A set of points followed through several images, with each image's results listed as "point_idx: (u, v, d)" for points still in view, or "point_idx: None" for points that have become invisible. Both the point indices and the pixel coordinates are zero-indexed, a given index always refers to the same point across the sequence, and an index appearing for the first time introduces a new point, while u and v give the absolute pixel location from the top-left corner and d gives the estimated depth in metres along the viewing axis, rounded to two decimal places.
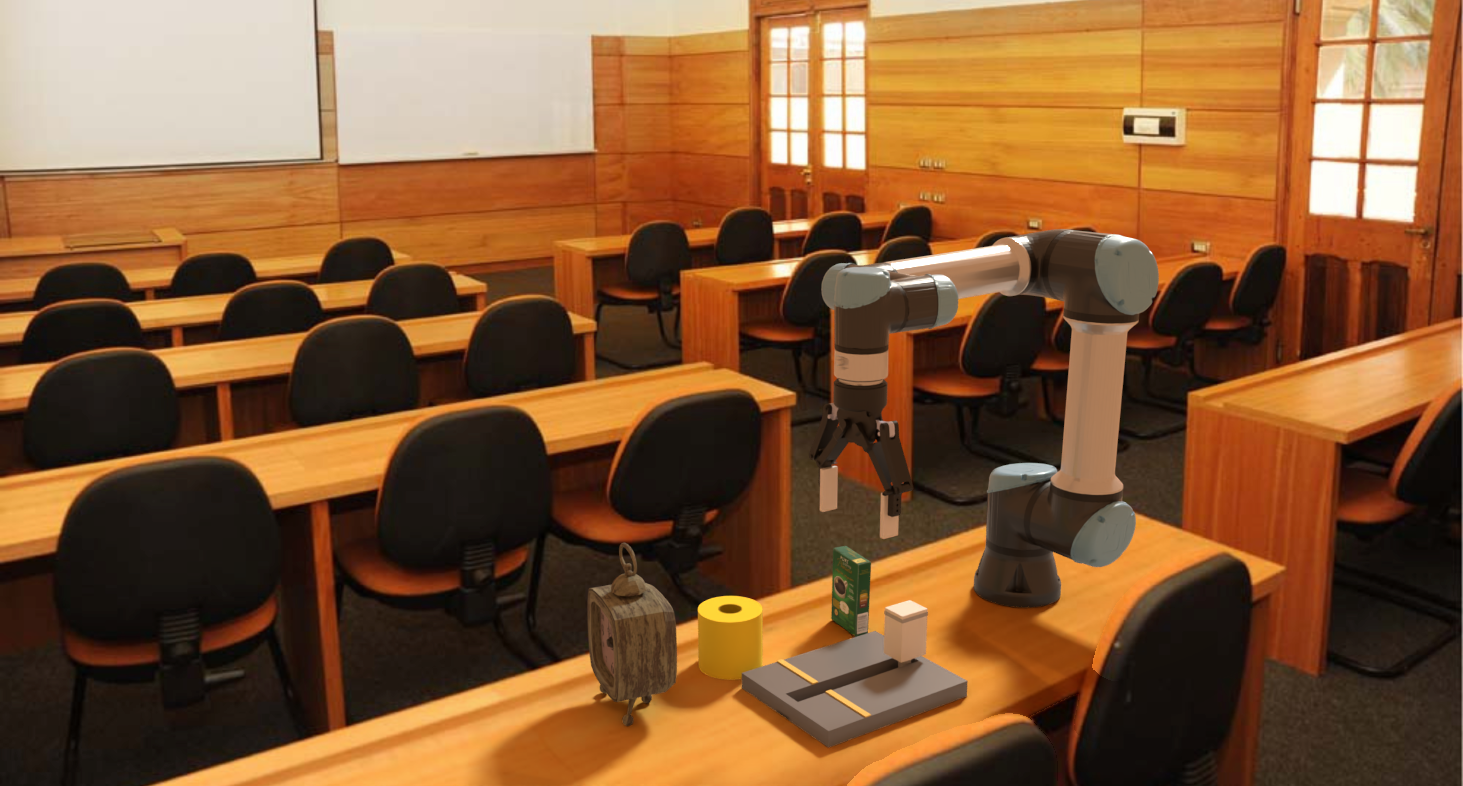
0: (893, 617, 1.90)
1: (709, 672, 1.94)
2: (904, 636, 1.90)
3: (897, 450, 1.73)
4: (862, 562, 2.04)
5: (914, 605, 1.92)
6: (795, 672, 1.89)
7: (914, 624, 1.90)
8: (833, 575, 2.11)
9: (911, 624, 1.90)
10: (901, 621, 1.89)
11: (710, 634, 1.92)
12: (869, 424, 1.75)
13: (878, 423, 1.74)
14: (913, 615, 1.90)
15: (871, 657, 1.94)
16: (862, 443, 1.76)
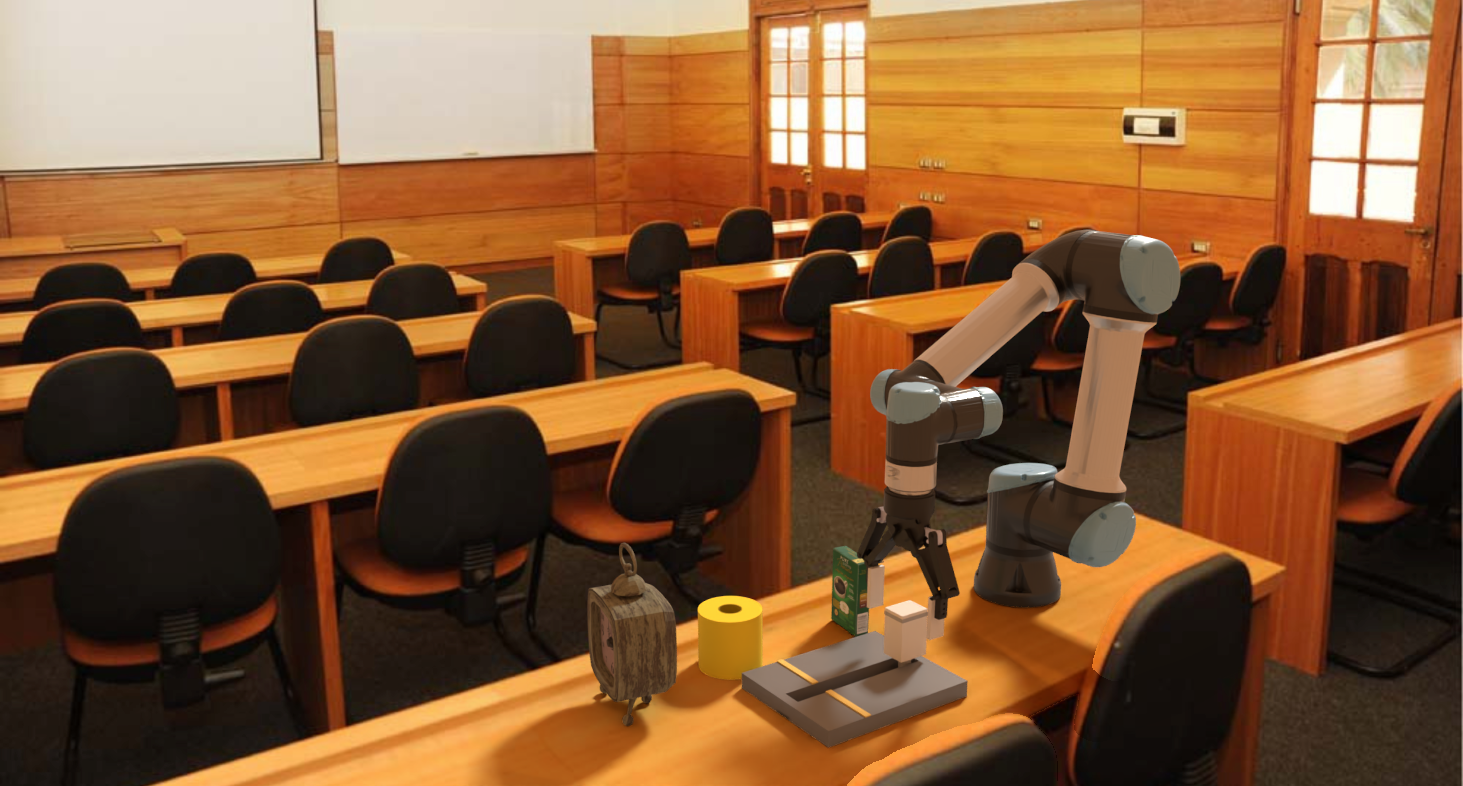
0: (893, 617, 1.90)
1: (709, 672, 1.94)
2: (904, 636, 1.90)
3: (945, 557, 1.83)
4: (862, 562, 2.04)
5: (914, 605, 1.92)
6: (795, 672, 1.89)
7: (914, 624, 1.90)
8: (833, 575, 2.11)
9: (911, 624, 1.90)
10: (901, 621, 1.89)
11: (710, 634, 1.92)
12: (918, 531, 1.85)
13: (927, 531, 1.84)
14: (913, 615, 1.90)
15: (871, 657, 1.94)
16: (911, 549, 1.86)
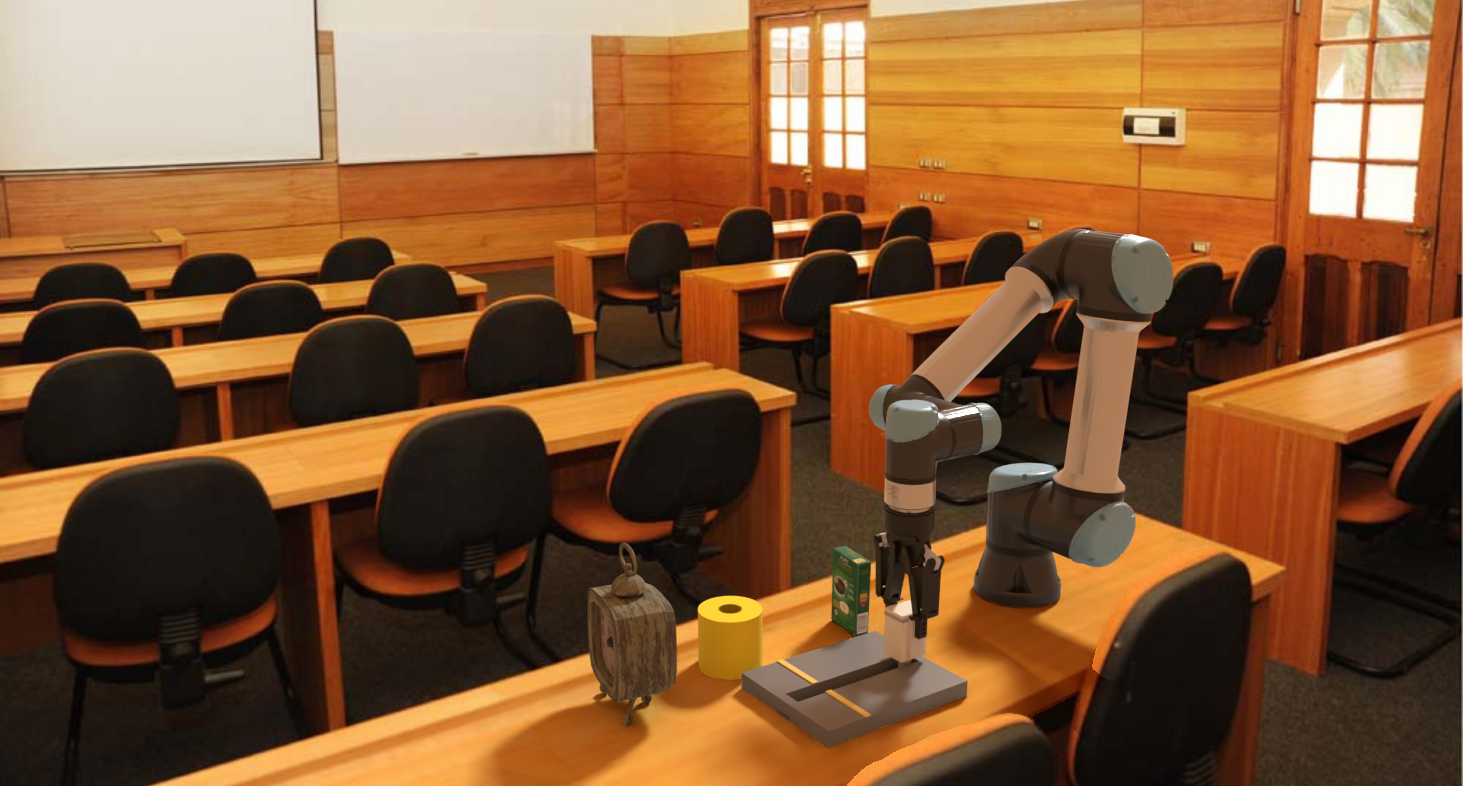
0: (893, 617, 1.90)
1: (709, 672, 1.94)
2: (904, 636, 1.90)
3: (935, 582, 1.85)
4: (862, 562, 2.04)
5: None
6: (795, 672, 1.89)
7: None
8: (833, 575, 2.11)
9: None
10: (901, 621, 1.89)
11: (710, 634, 1.92)
12: (918, 550, 1.85)
13: (926, 553, 1.85)
14: None
15: (871, 657, 1.94)
16: (906, 566, 1.87)
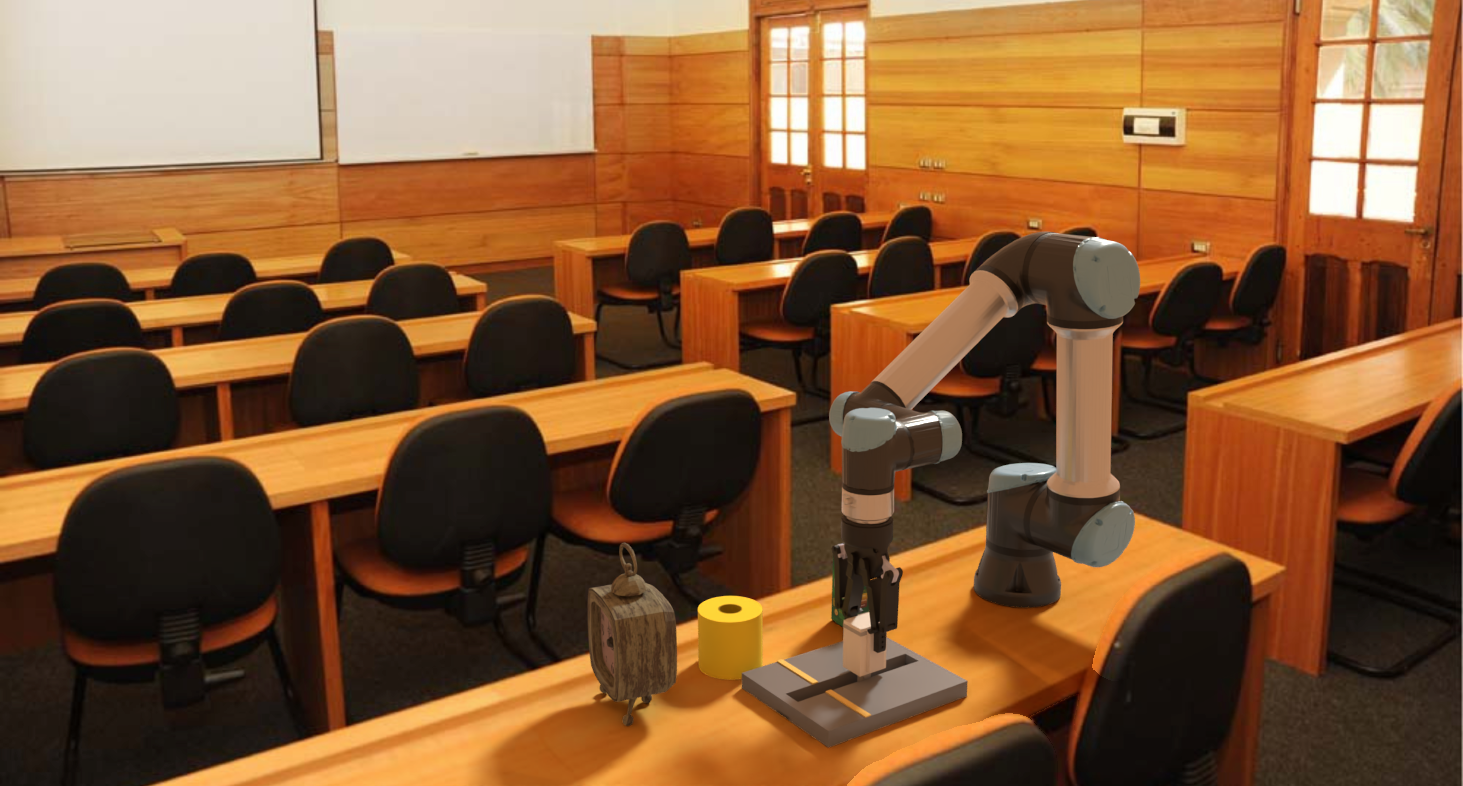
0: (851, 630, 1.86)
1: (709, 672, 1.94)
2: (862, 650, 1.85)
3: (894, 595, 1.81)
4: None
5: None
6: (795, 672, 1.89)
7: None
8: (833, 575, 2.11)
9: None
10: (859, 634, 1.84)
11: (710, 634, 1.92)
12: (876, 561, 1.81)
13: (884, 565, 1.81)
14: None
15: None
16: (864, 578, 1.83)
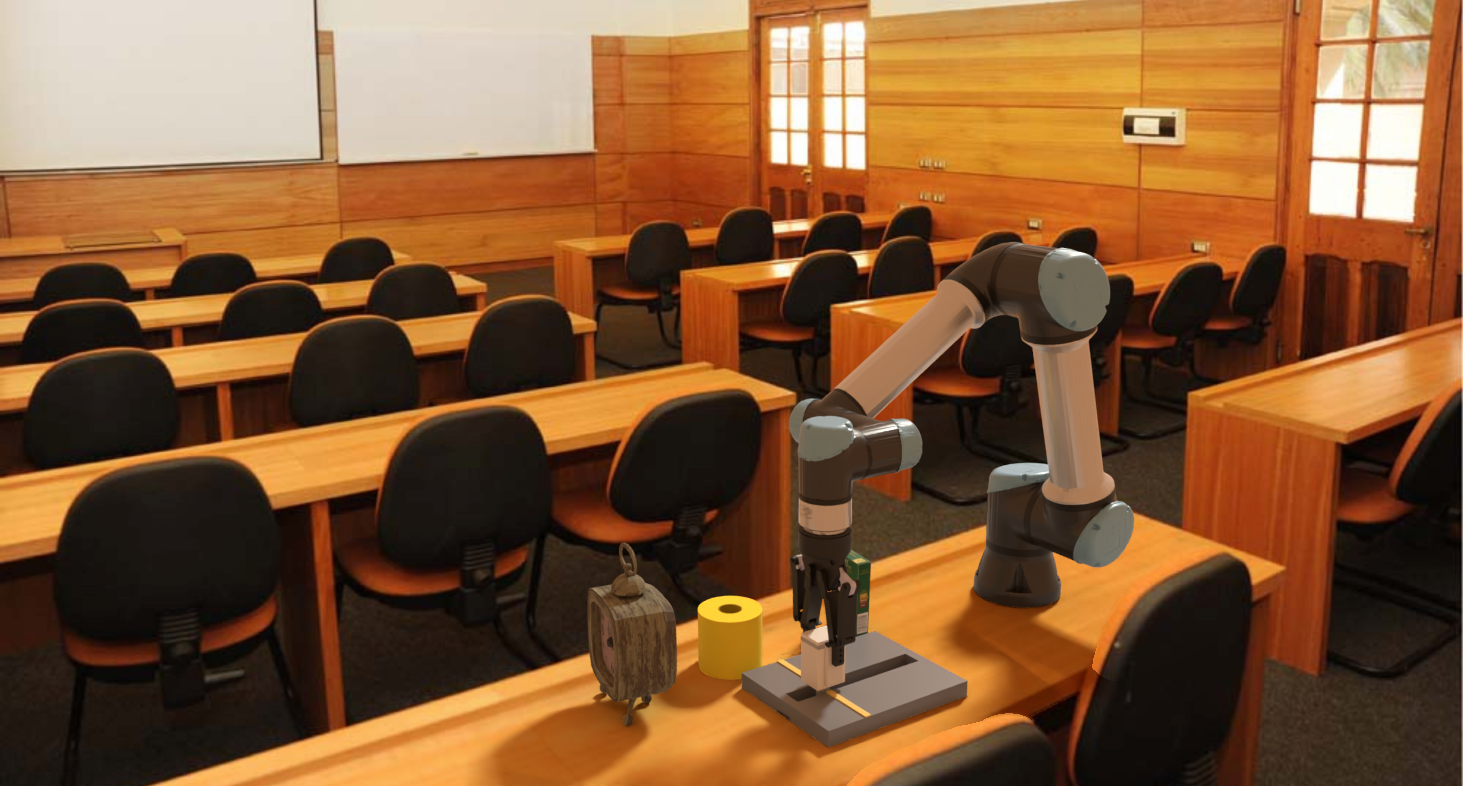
0: (809, 643, 1.82)
1: (709, 672, 1.94)
2: (820, 664, 1.81)
3: (851, 608, 1.77)
4: (862, 562, 2.04)
5: None
6: (795, 672, 1.89)
7: None
8: None
9: None
10: (817, 648, 1.80)
11: (710, 634, 1.92)
12: (833, 573, 1.77)
13: (842, 577, 1.76)
14: None
15: (871, 657, 1.94)
16: (821, 590, 1.79)
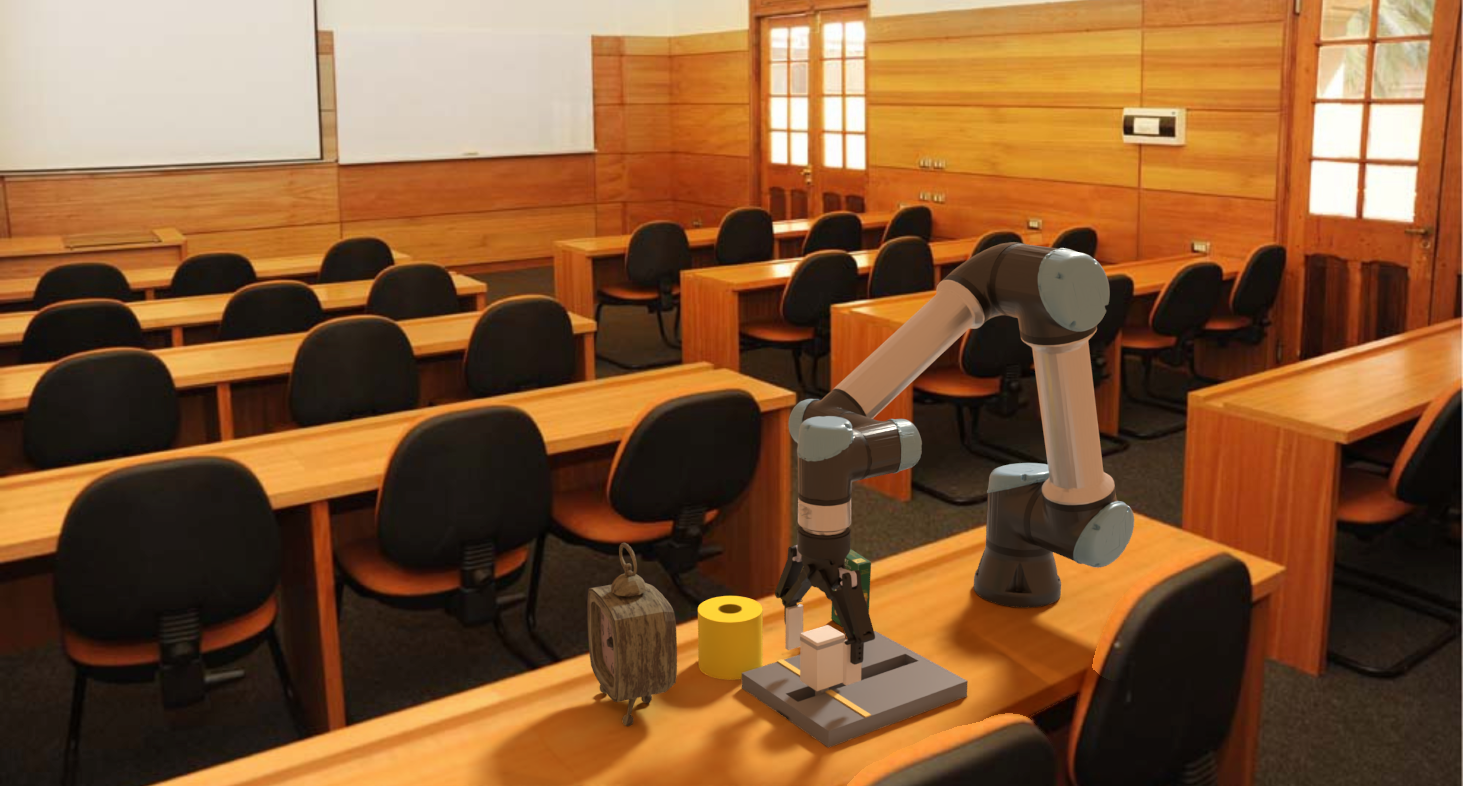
0: (808, 644, 1.82)
1: (709, 672, 1.94)
2: (819, 664, 1.81)
3: (859, 600, 1.75)
4: (862, 562, 2.04)
5: (831, 630, 1.84)
6: (795, 672, 1.89)
7: (830, 650, 1.82)
8: None
9: (827, 650, 1.81)
10: (816, 648, 1.80)
11: (710, 634, 1.92)
12: (832, 572, 1.77)
13: (841, 572, 1.76)
14: (829, 641, 1.81)
15: (871, 657, 1.94)
16: (825, 590, 1.78)
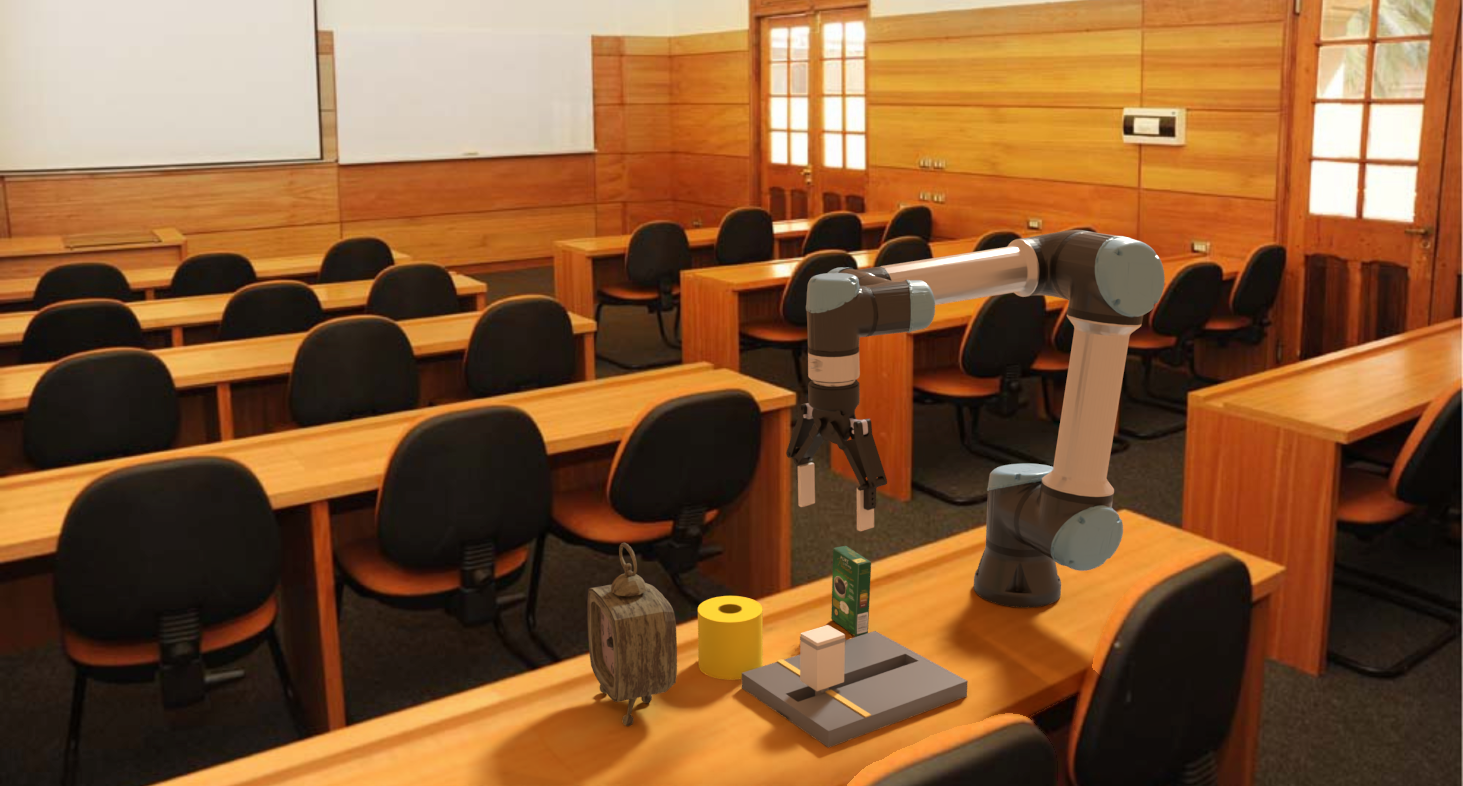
0: (808, 644, 1.82)
1: (709, 672, 1.94)
2: (819, 664, 1.81)
3: (871, 446, 1.82)
4: (862, 562, 2.04)
5: (831, 630, 1.84)
6: (795, 672, 1.89)
7: (830, 650, 1.82)
8: (833, 575, 2.11)
9: (827, 650, 1.81)
10: (816, 648, 1.80)
11: (710, 634, 1.92)
12: (843, 423, 1.84)
13: (852, 421, 1.83)
14: (829, 641, 1.81)
15: (871, 657, 1.94)
16: (837, 441, 1.85)
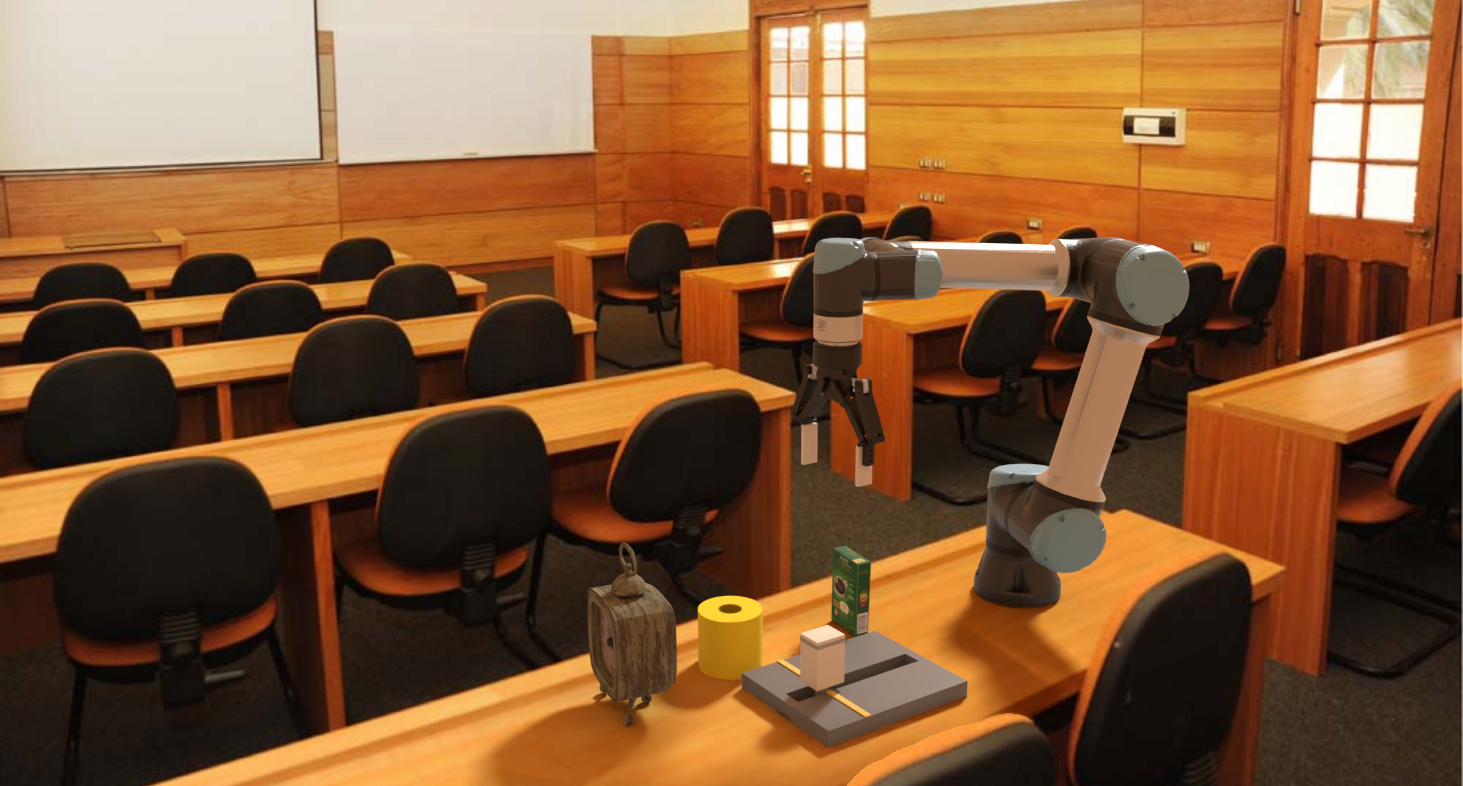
0: (808, 644, 1.82)
1: (709, 672, 1.94)
2: (819, 664, 1.81)
3: (870, 405, 1.89)
4: (862, 562, 2.04)
5: (831, 630, 1.84)
6: (795, 672, 1.89)
7: (830, 650, 1.82)
8: (833, 575, 2.11)
9: (827, 650, 1.81)
10: (816, 648, 1.80)
11: (710, 634, 1.92)
12: (845, 381, 1.91)
13: (853, 380, 1.90)
14: (829, 641, 1.81)
15: (871, 657, 1.94)
16: (839, 399, 1.92)
